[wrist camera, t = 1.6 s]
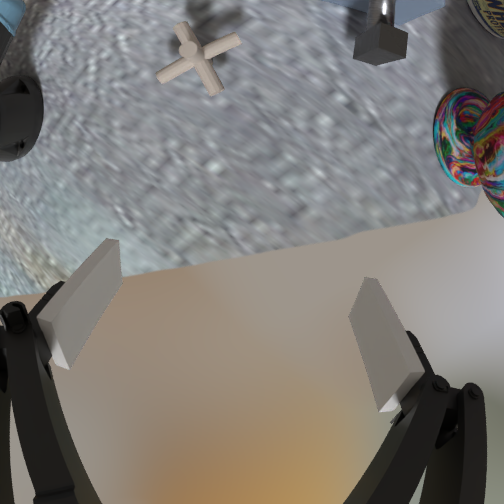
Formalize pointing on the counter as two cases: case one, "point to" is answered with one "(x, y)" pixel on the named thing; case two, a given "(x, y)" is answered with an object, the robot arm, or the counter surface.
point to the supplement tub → (489, 15)
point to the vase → (472, 142)
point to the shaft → (381, 36)
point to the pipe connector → (198, 57)
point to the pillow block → (397, 7)
